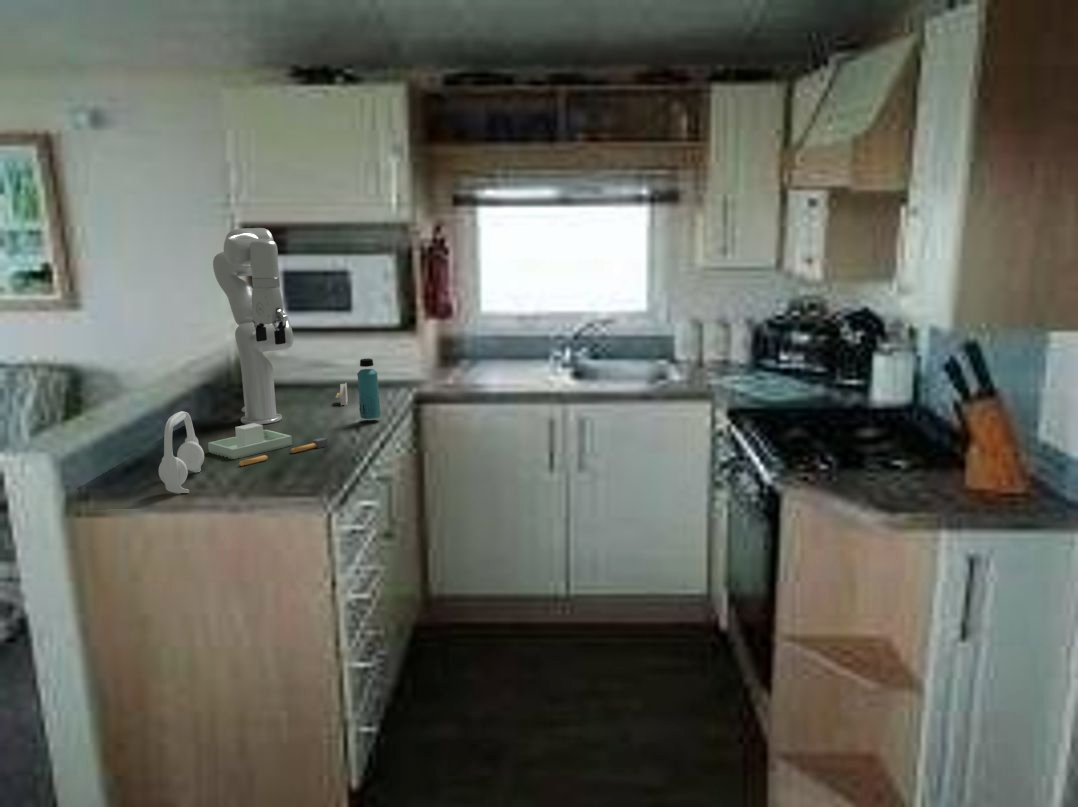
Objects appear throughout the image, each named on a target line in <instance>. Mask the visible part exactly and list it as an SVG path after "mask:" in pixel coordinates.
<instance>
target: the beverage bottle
mask: <svg viewBox="0 0 1078 807" xmlns="http://www.w3.org/2000/svg"><path fill="white" fill-rule="evenodd" d="M359 366H360V367H366V368H363V369H360V370H359V371H358V372H357V373H356V376H357V388H358V399H359V400H358V405H359V416H360V418H361V419H363V420H373V419H378V418H380V416H381V404H380V403H381V402H380V399H381V398H380V392H379V379H378V371H377V370H375V369H374V368H367V367H373V366H374V360H373V358H361V359H360V360H359Z"/></svg>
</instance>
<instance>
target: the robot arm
mask: <svg viewBox="0 0 1078 807" xmlns="http://www.w3.org/2000/svg"><path fill="white" fill-rule="evenodd" d="M278 255H279V251H278V245H277V243H276V242H275V241H274V237H273V235H272V232H270V230H269V229H266V228H264V227H253V228H252V227H251V228H250V227H249V228H236V229H232V230H230V231H229V232H228V233H227V234H226V236H225V239H224V243H223V251H222V252H219V253H217V254H216V255H215V256H214V257H213V260H212V268H213V272H214V276H215V279H216V282H217V283H218V285H219V286H220V289H221V290H222V291H223V292H224V294H225V295H226V297H227V299H228V303H229V306H230V309H231V312H232V316H233V318H234V321H235V323H236V324H237V325H238V326H237V327H236V329H235V332H234V338H235V342H236V347H237V350H238V355H239V362H240V369H241V379H242V380H241V381H242V392H243V402H244V406H243V407H241V411H242V412H244V416H242V417H241V418H240V422H241V423H242V424H244V425H247V424H252V423H256V424H260V425H266V424H273V423H277V422H279V421H281V420H282V419H283V417H282V416H283V415H282V414H281V413H278V412H277V406H276V393H275V380H274V371H273V370H274V369H273V365H272V362H271V361H270V360H269V359H268V358H267V356H265V355H264V354H263V353H266V352H273V351H274V352H275V351H276V352H277V351H282V350H288V349H289V348H292V346H293V344H294V333H293V329H292V326H291V323H290V320H289V317H288V314H287V310H286V308H285V306H284V303H283V296H282V294H281V286H280V285H281V283H280V273H279V272H280V271H279V259H278ZM240 277H252V278H251V280H252V285H250V283H248V282H247V281H245V280H244V279H242V278H240Z"/></svg>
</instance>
